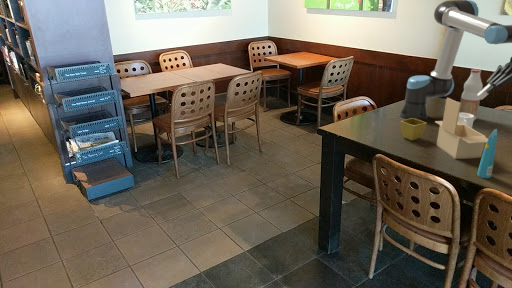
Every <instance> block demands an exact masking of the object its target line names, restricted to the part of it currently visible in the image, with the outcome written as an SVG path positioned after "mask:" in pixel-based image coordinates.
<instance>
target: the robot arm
mask: <svg viewBox="0 0 512 288" xmlns="http://www.w3.org/2000/svg"><path fill="white" fill-rule="evenodd" d="M479 11H480V10H479V7H478V4H477V3H476V1H473V0H445V1H443V2H441V3H439V4H438V5H437V6H436V8H435V9H434V12H433V17H434V20H435V22H437V24H439V25H442V26H445V28H446V31H445V34H444V37H443V39H442V40H443V41H442V44H441V47H440V50H439V54H438V57H437V61H436V64H435V66H434V69H433V70H432V71H431V72H430V74H429V76H428V75H425V74H424V75H414V76H413V75H412V76H410V77H409V78H408V80H407V84H406V91H405V98H404V99H405V100H404V103H403V105H402V108H401V109H400V111H399V116H400V117H402V118H404V119H405V120H407V119H411V118H415V119H417V120H420V121H424V120H427V119H428V115H429V113H428V107H427V101H428V99H433V98H442V97H446V96H448V95H450V94H452V92H453V90H454V87H455V82H454V79H453V75H452V70H453V66H454V64H455V60H456V57H457V56H458V55H457V54H458V52H459V48H460V45H461V43H462V39H463V36H464V33H465V32H467V33H469V34H471V35H474V36H477V37H479V38H482V39H484V40H485V42H486V43H487V44H489V45H501V44H512V24H506V25H504V24H503V23H502V24H501V23H499V22H496V21H493V20H489V19H486V18H483V17H480V16H479ZM509 59H510V60H509V62H507V63H505V65H501V64H499V65H498V66H497V69H496V70H495V71H494V72H493V73H492V74H491V75H490V77H489V78H488V79H487V80H486V83H487V85H486V86H484V87H482V90H481V91H480V92H479V93H478V94H477V96H478V97H479V98H480V101H481V100H483V99H485V98H486V97H487V96H488V95H490V94H491V93H492V92H493V91H495V90H497V89H499V90H500V89H502V88H504V87H506V86H507V85H508V84H510V83H512V56H511V57H510V58H509Z"/></svg>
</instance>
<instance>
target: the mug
mask: <svg viewBox="0 0 512 288" xmlns="http://www.w3.org/2000/svg"><path fill="white" fill-rule="evenodd" d="M474 121H475V120H474V115H472V114H468V113H459V117H458V122H459V123H461V124H465V125H466V126H468V127H470V128H472V129H473V125H474V124H473V123H474Z"/></svg>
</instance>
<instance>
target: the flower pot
mask: <svg viewBox="0 0 512 288" xmlns="http://www.w3.org/2000/svg"><path fill="white" fill-rule="evenodd" d="M426 126H427V122H425V121H424V120H417V119H415V118H411V119H404V120H400V132H401V135H402V137H403V138H404V139H406V140H409V141H416V140H418V139H419V140H420V138H421V137H422V135H423V134H424V132H425V130H426Z"/></svg>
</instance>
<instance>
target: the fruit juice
mask: <svg viewBox="0 0 512 288" xmlns="http://www.w3.org/2000/svg"><path fill="white" fill-rule="evenodd" d="M481 73H482V70H481V69H477V68H475V69H473V68H472V69H471V70H470V75H469V77H468V78H467V80H466V81H465V82H464V84H463V92H462V93H461V97H460V102H459V103H460V104H461V107H460V112H459V113H468V114H472V115H474V121H476V120H477V115H478V113H479V111H478V110H479V107H480V101H481V99H480V98H479V97H478V96H477V94H478V93H479V92H480V91H482V89H483V88H484V87H483V82H482V78H481Z"/></svg>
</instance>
